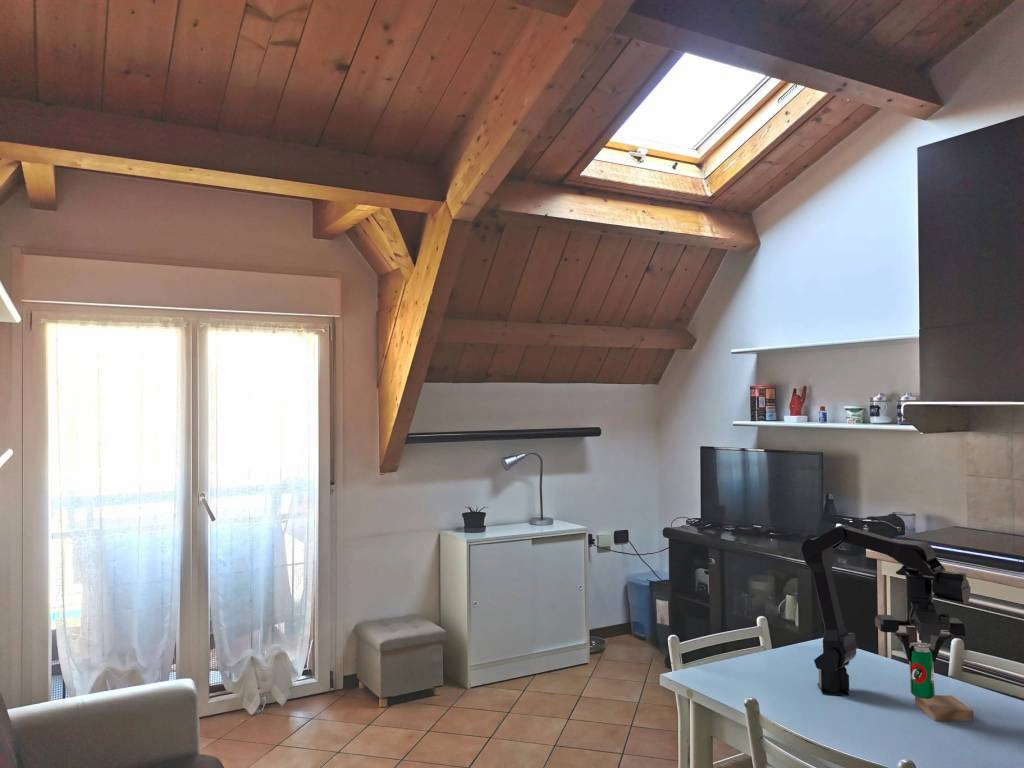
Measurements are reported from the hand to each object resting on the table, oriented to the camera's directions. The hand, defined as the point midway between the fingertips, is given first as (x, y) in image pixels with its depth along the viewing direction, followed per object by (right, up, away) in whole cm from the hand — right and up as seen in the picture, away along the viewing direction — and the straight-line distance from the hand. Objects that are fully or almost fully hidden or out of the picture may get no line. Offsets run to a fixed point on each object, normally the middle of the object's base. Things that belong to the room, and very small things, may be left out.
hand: (920, 661), depth 178 cm
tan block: (+6, -13, +2) cm, 15 cm away
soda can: (0, -8, 0) cm, 8 cm away
